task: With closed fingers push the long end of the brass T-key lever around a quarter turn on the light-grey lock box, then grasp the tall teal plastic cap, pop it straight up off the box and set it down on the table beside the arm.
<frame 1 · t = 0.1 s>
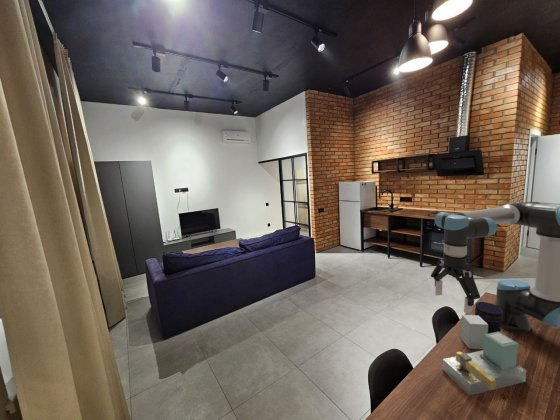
hand: (452, 303, 98), 28 cm above the table, fingers open, 13 cm apart
supplement box: (472, 343, 112), on the table
storage jar: (486, 335, 116), on the table
t key: (474, 370, 89), point 8 cm above the table, hinge at 0.0°
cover: (498, 360, 95), point 5 cm above the table, touching lockbox
lockbox: (482, 375, 95), on the table
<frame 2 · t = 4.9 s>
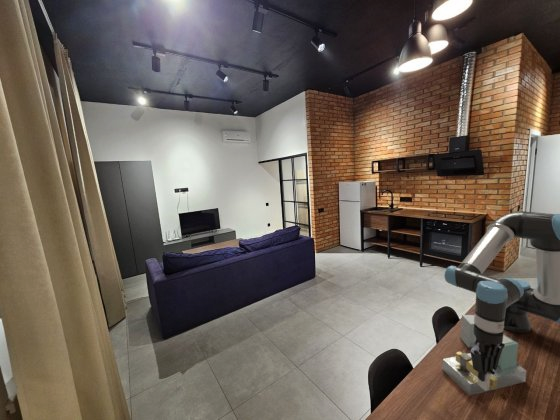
hand: (483, 387, 84), 6 cm above the table, fingers closed
t key: (474, 369, 89), point 8 cm above the table, hinge at 4.1°, touching gripper
everything else where it was.
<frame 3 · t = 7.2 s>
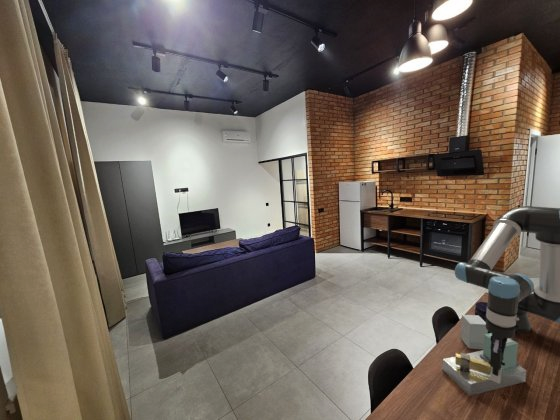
hand: (495, 380, 86), 7 cm above the table, fingers closed
t key: (477, 366, 90), point 8 cm above the table, hinge at 47.0°, touching gripper
everything else where it was.
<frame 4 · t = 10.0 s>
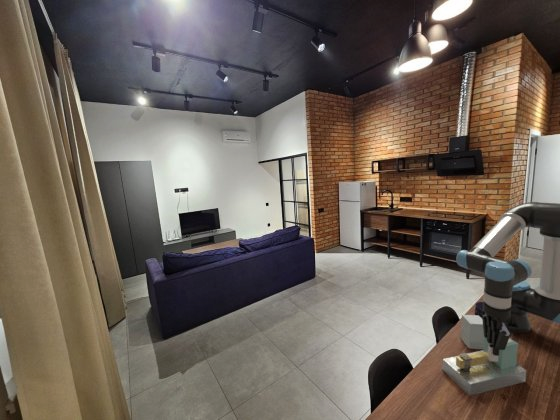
hand: (492, 359, 91), 10 cm above the table, fingers closed
t key: (473, 360, 93), point 8 cm above the table, hinge at 88.6°
everything else where it was.
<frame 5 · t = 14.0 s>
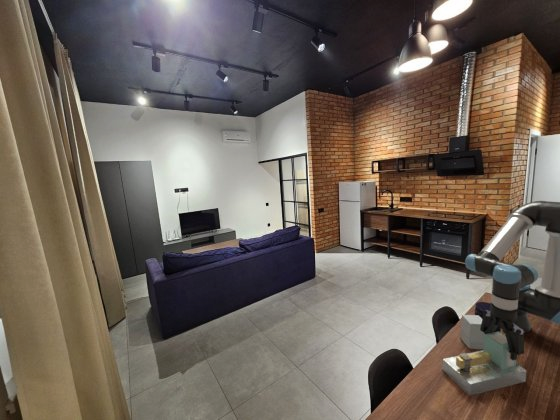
hand: (499, 357, 95), 7 cm above the table, fingers closed on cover, 7 cm apart
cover: (498, 360, 95), point 5 cm above the table, touching gripper, lockbox
everything else where it was.
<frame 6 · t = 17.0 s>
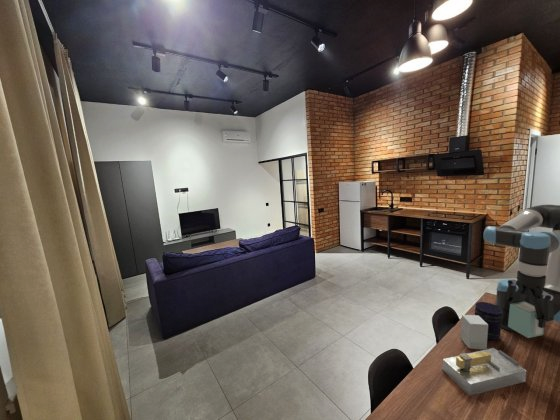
hand: (525, 327, 94), 19 cm above the table, fingers closed on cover, 7 cm apart
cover: (525, 330, 94), point 17 cm above the table, touching gripper
everything else where it was.
when the fingers open (4 cm above the table, at t = 20.0 s): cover drops 2 cm, on the table.
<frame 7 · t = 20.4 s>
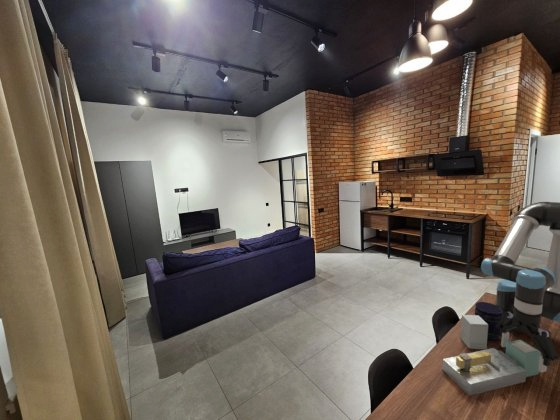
hand: (522, 357, 96), 5 cm above the table, fingers open, 12 cm apart
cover: (520, 368, 97), on the table
everything else where it was.
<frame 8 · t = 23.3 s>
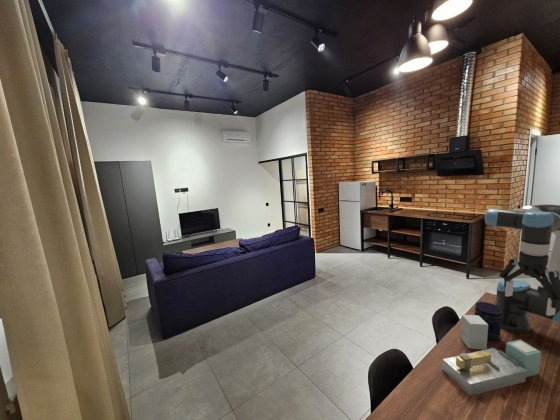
hand: (528, 304, 92), 29 cm above the table, fingers open, 13 cm apart
nothing on the table moved.
at the end: t key at +89° (first picture: +0°); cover inside the target area (0.0 cm from its centre), on the table; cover tilted 0° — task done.
